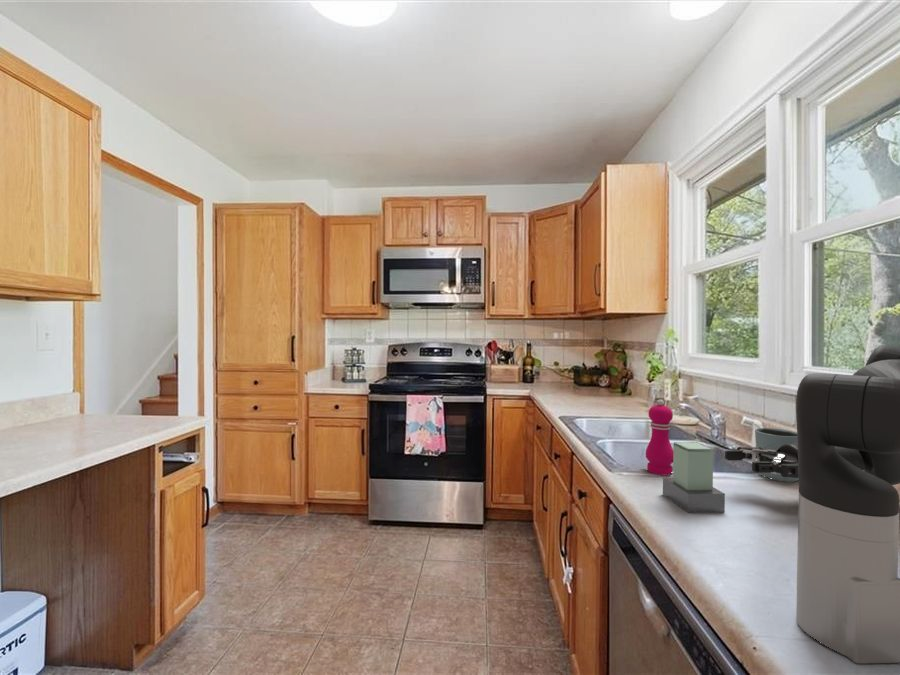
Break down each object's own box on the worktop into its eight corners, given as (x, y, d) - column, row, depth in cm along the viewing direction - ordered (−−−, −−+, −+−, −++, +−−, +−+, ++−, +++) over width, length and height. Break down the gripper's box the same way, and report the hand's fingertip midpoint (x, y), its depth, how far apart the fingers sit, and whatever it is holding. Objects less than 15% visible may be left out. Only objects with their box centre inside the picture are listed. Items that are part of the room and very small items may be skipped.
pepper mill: (680, 474, 113) (681, 400, 113) (661, 477, 111) (662, 402, 110) (658, 466, 120) (659, 396, 120) (639, 469, 117) (640, 398, 117)
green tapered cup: (779, 484, 106) (780, 437, 106) (744, 471, 116) (745, 428, 116) (811, 481, 108) (812, 435, 108) (774, 468, 118) (775, 426, 118)
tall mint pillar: (712, 489, 91) (713, 449, 91) (687, 490, 91) (688, 449, 91) (696, 480, 97) (697, 442, 97) (673, 480, 97) (673, 442, 97)
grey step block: (724, 512, 89) (725, 475, 89) (688, 512, 89) (688, 475, 89) (695, 494, 99) (696, 460, 99) (662, 494, 99) (663, 460, 99)
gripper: (782, 436, 102) (718, 436, 101) (839, 453, 88) (763, 453, 87) (782, 467, 102) (717, 467, 102) (838, 489, 88) (763, 489, 87)
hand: (739, 461), depth 94 cm, fingers open, 8 cm apart
